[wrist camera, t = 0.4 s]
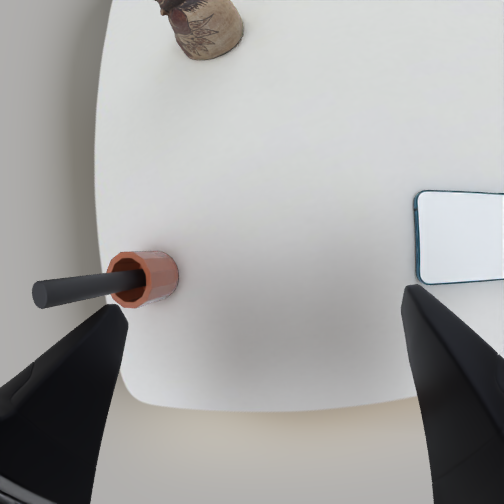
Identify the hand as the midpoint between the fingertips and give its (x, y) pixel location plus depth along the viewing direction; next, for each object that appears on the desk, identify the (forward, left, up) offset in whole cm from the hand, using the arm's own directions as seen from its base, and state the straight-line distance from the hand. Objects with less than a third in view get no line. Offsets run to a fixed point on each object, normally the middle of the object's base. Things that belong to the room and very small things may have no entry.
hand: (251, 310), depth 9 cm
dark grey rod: (+6, +10, -16) cm, 20 cm away
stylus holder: (+6, +10, -16) cm, 20 cm away
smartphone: (-7, -18, -16) cm, 25 cm away
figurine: (+25, -7, -17) cm, 30 cm away
